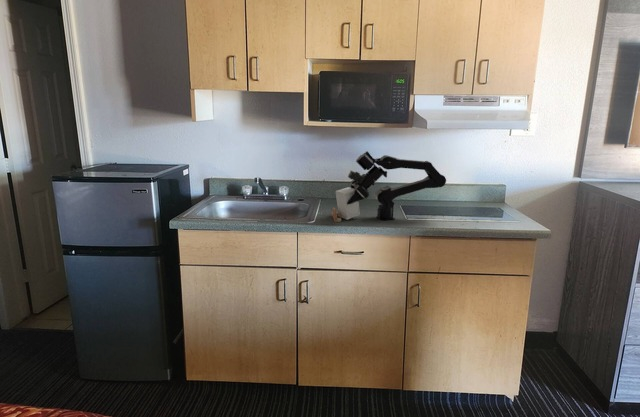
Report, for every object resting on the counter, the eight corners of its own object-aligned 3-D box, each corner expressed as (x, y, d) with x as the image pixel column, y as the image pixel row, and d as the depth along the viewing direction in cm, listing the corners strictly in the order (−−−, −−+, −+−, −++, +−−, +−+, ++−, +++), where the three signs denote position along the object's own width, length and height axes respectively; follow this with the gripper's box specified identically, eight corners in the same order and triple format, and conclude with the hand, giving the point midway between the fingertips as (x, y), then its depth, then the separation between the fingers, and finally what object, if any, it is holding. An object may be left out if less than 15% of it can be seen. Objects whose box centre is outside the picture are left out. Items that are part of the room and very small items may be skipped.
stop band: (338, 215, 201) (338, 207, 200) (341, 221, 191) (341, 213, 190) (332, 215, 201) (332, 207, 200) (334, 221, 191) (335, 213, 190)
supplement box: (347, 220, 192) (343, 193, 188) (338, 216, 198) (334, 190, 194) (360, 215, 195) (357, 189, 191) (351, 211, 201) (348, 186, 197)
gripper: (355, 162, 200) (332, 185, 202) (362, 167, 182) (336, 193, 184) (371, 178, 202) (348, 201, 204) (379, 185, 184) (353, 210, 186)
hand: (346, 201), depth 194 cm, fingers closed on supplement box, 9 cm apart
